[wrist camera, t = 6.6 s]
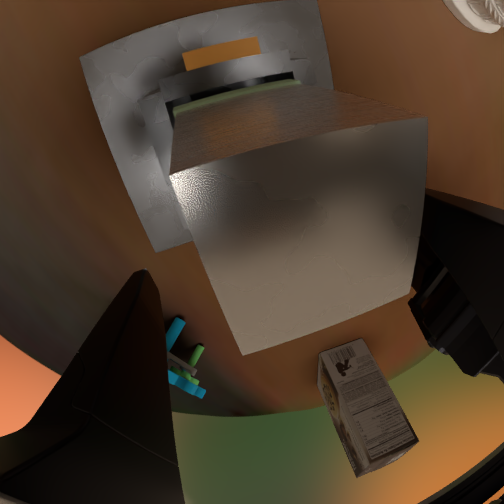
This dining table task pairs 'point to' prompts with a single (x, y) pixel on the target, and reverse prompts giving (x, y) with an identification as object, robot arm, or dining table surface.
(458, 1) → the decorative container
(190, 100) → the stand
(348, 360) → the coffee box
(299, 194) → the block
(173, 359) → the blue angular plastic piece
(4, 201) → the dining table surface
